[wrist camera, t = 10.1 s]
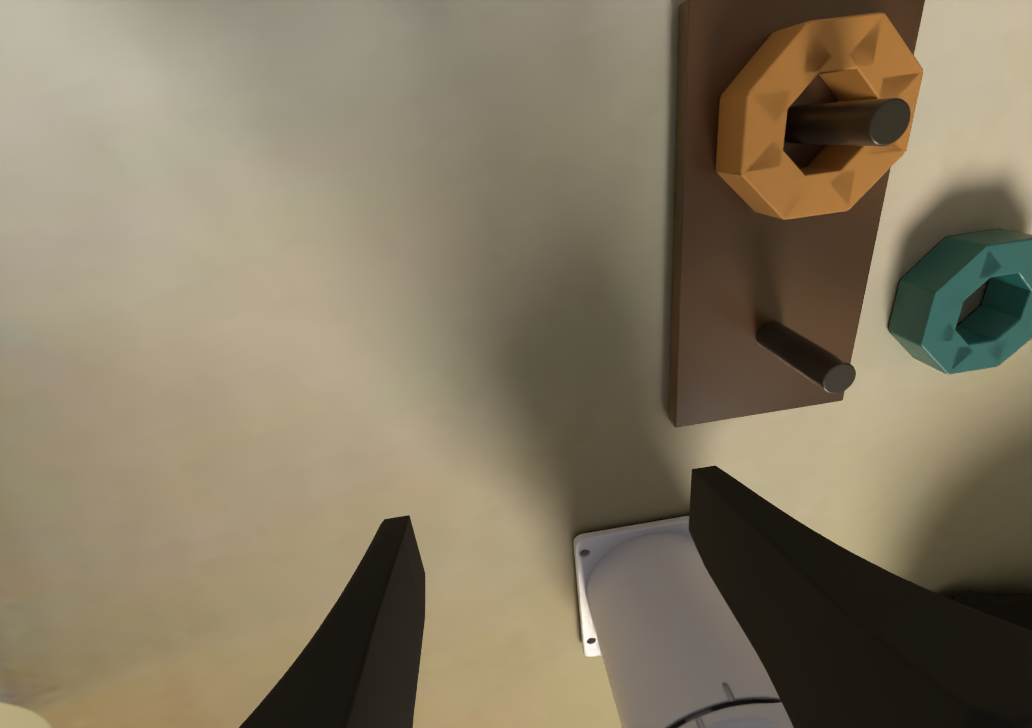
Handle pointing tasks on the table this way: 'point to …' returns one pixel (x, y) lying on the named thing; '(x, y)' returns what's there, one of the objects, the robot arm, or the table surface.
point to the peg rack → (767, 227)
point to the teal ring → (949, 282)
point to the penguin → (1001, 607)
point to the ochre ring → (776, 85)
